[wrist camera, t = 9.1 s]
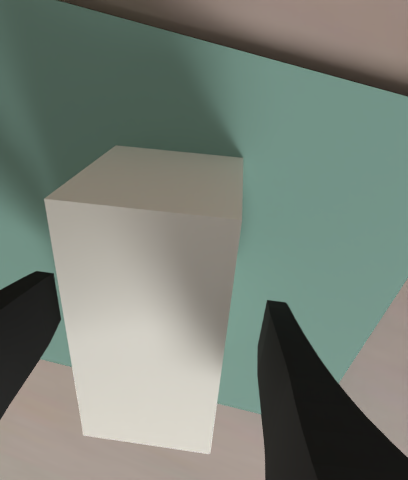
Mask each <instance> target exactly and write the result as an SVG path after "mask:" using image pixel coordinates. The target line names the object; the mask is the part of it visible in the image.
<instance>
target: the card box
mask: <svg viewBox="0 0 408 480" xmlns="http://www.w3.org/2000/svg"><path fill="white" fill-rule="evenodd" d="M242 198H243V158H240V157H229V156H219V155H209V154H199V153H189V152H178V151H168V150H158V149H148V148H137V147H127V146H117V145H116V146H114V147H113V148H112V149H110V150H109V151H108V152H106V153H105V154H103V155H102V156H101V157H99V158H98V159H97V160H95V161H94V162H93V163H91V164H90V165H89V166H87V167H86V168H85V169H83V170H82V171H81V172H79V173H78V174H77V175H75V176H74V177H73V178H71V179H70V180H69V181H67V182H66V183H65V184H63V185H62V186H60V187H59V188H58V189H56V190H55V191H54V192H52V193H51V194H50V195H48V196H47V197H46V198H44V202H45V208H46V214H47V220H48V226H49V232H50V238H51V244H52V250H53V256H54V262H55V268H56V274H57V280H58V286H59V292H60V298H61V304H62V310H63V316H64V322H65V328H66V334H67V340H68V346H69V352H70V358H71V364H72V370H73V376H74V382H75V388H76V394H77V400H78V406H79V412H80V418H81V424H82V430H83V435H84V436H90V437H97V438H104V439H111V440H117V441H124V442H131V443H138V444H144V445H151V446H158V447H165V448H171V449H178V450H185V451H192V452H199V453H205V454H210V451H211V444H212V437H213V429H214V422H215V415H216V407H217V400H218V393H219V385H220V378H221V371H222V363H223V356H224V349H225V341H226V334H227V327H228V319H229V312H230V305H231V297H232V290H233V283H234V275H235V268H236V261H237V253H238V246H239V239H240V231H241V224H242Z"/></svg>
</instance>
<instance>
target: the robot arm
mask: <svg viewBox="0 0 408 480" xmlns="http://www.w3.org/2000/svg"><path fill="white" fill-rule="evenodd" d="M60 321H61V315H60V309H59V302H58V296H57V290H56V284H55V278H54V273H49V272H41V271H35V272H33V273H31V274H29V275H27V276H25V277H23V278H21V279H19V280H17V281H16V282H14V283H12V284H10V285H8V286H6V287H5V288H3V289H1V290H0V419H1V418H2V416H3V414H4V413H5V411H6V409H7V408H8V406H9V405H10V403H11V402H12V400H13V399H14V397H15V396H16V394H17V393H18V391H19V390H20V388H21V387H22V385H23V384H24V382H25V381H26V379H27V378H28V376H29V375H30V373H31V372H32V370H33V369H34V367H35V366H36V364H37V363H38V361H39V360H40V358H41V357H42V355H43V354H44V352H45V350H46V349H47V347H48V346H49V344H50V342H51V340H52V338H53V336H54V334H55V332H56V330H57V327H58V325H59V323H60ZM257 377H258V387H259V397H260V407H261V417H262V426H263V436H264V447H265V478H266V480H408V457H406V456H405V455H404V454H403V453H402V452H401V451H400V450H399V449H398V448H397V447H396V446H395V445H394V444H393V443H392V442H391V441H390V440H389V439H388V438H387V437H386V436H385V435H384V434H383V433H382V432H381V431H380V430H379V429H378V428H377V427H376V426H375V425H374V424H373V423H372V422H371V421H370V420H369V419H368V418H367V417H366V416H365V415H364V413H363V412H362V411H361V410H360V409H359V408H358V407H357V406H356V404H355V403H354V402H353V401H352V400H351V398H350V397H349V396H348V395H347V394H346V393H345V391H344V390H343V389H342V388H341V386H340V385H339V384H338V382H337V381H336V380H335V379H334V377H333V376H332V374H331V373H330V372H329V370H328V369H327V368H326V366H325V365H324V363H323V362H322V360H321V359H320V358H319V356H318V355H317V353H316V352H315V350H314V348H313V347H312V345H311V344H310V342H309V341H308V339H307V337H306V336H305V334H304V333H303V331H302V329H301V327H300V326H299V324H298V322H297V320H296V319H295V317H294V315H293V313H292V311H291V309H290V308H289V306H288V304H287V303H286V302H279V301H271V300H267V303H266V308H265V312H264V317H263V322H262V327H261V332H260V336H259V341H258V352H257Z"/></svg>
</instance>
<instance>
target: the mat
mask: <svg viewBox="0 0 408 480" xmlns="http://www.w3.org/2000/svg"><path fill="white" fill-rule="evenodd" d="M116 145H117V146H127V147H137V148H148V149H158V150H168V151H178V152H189V153H199V154H209V155H219V156H229V157H240V158H243V198H242V224H241V231H240V239H239V246H238V253H237V261H236V268H235V275H234V283H233V290H232V297H231V305H230V312H229V319H228V327H227V334H226V341H225V349H224V356H223V363H222V371H221V378H220V385H219V393H218V400H217V403H218V404H222V405H226V406H230V407H234V408H238V409H242V410H246V411H250V412H254V413H258V414H261V407H260V397H259V387H258V377H257V352H258V341H259V336H260V332H261V327H262V322H263V317H264V312H265V308H266V303H267V300H271V301H279V302H286V303H287V304H288V306H289V308H290V309H291V311H292V313H293V315H294V317H295V319H296V320H297V322H298V324H299V326H300V327H301V329H302V331H303V333H304V334H305V336H306V337H307V339H308V341H309V342H310V344H311V345H312V347H313V348H314V350H315V352H316V353H317V355H318V356H319V358H320V359H321V360H322V362H323V363H324V365H325V366H326V368H327V369H328V370H329V372H330V373H331V374H332V376H333V377H334V379H335V380H336V381H337V382H338V383H339V382H340V380H341V379H342V377H343V376H344V374H345V373H346V371H347V370H348V368H349V366H350V365H351V363H352V362H353V360H354V359H355V357H356V356H357V354H358V353H359V351H360V350H361V348H362V347H363V345H364V344H365V342H366V341H367V339H368V338H369V336H370V335H371V333H372V332H373V330H374V328H375V327H376V325H377V324H378V322H379V321H380V319H381V318H382V316H383V315H384V313H385V312H386V310H387V309H388V307H389V306H390V304H391V303H392V301H393V300H394V298H395V297H396V295H397V294H398V292H399V290H400V289H401V287H402V286H403V284H404V283H405V281H406V280H407V278H408V96H404V95H400V94H397V93H393V92H390V91H386V90H382V89H379V88H375V87H371V86H368V85H364V84H360V83H357V82H353V81H349V80H346V79H342V78H338V77H335V76H331V75H328V74H324V73H320V72H317V71H313V70H309V69H306V68H302V67H298V66H295V65H291V64H287V63H284V62H280V61H277V60H273V59H269V58H266V57H262V56H258V55H255V54H251V53H247V52H244V51H240V50H236V49H233V48H229V47H225V46H222V45H218V44H215V43H211V42H207V41H204V40H200V39H196V38H193V37H189V36H185V35H182V34H178V33H174V32H171V31H167V30H164V29H160V28H156V27H153V26H149V25H145V24H142V23H138V22H134V21H131V20H127V19H123V18H120V17H116V16H113V15H109V14H105V13H102V12H98V11H94V10H91V9H87V8H83V7H80V6H76V5H72V4H69V3H65V2H61V1H58V0H0V290H1V289H3V288H5V287H6V286H8V285H10V284H12V283H14V282H16V281H17V280H19V279H21V278H23V277H25V276H27V275H29V274H31V273H33V272H35V271H41V272H49V273H54V278H55V284H56V290H57V296H58V302H59V309H60V315H61V321H60V323H59V325H58V327H57V330H56V332H55V334H54V336H53V338H52V340H51V342H50V344H49V346H48V347H47V349H46V350H45V352H44V354H43V355H42V357H41V358H40V359H42V360H46V361H50V362H54V363H58V364H62V365H66V366H70V367H72V364H71V358H70V352H69V346H68V340H67V334H66V328H65V322H64V316H63V310H62V304H61V298H60V292H59V286H58V280H57V274H56V268H55V262H54V256H53V250H52V244H51V238H50V232H49V226H48V220H47V214H46V208H45V202H44V198H46V197H47V196H48V195H50V194H51V193H52V192H54V191H55V190H56V189H58V188H59V187H60V186H62V185H63V184H65V183H66V182H67V181H69V180H70V179H71V178H73V177H74V176H75V175H77V174H78V173H79V172H81V171H82V170H83V169H85V168H86V167H87V166H89V165H90V164H91V163H93V162H94V161H95V160H97V159H98V158H99V157H101V156H102V155H103V154H105V153H106V152H108V151H109V150H110V149H112V148H113V147H114V146H116Z"/></svg>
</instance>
